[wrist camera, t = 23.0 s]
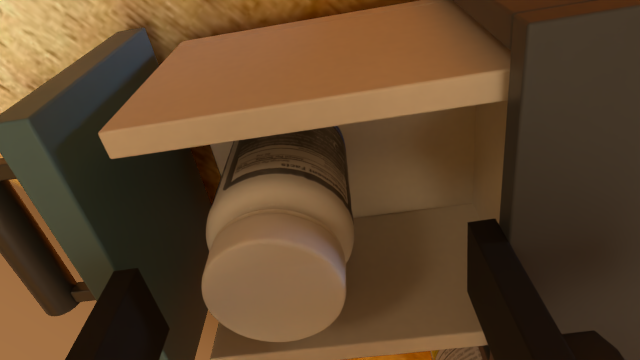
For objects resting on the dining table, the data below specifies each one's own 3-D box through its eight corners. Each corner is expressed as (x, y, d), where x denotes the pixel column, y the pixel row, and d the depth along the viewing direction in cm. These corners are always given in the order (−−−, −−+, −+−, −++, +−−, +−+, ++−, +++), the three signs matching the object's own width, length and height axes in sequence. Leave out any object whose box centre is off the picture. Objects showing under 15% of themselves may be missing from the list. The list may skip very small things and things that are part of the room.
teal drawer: (117, 257, 24) (34, 406, 17) (1, 52, 18) (-202, 155, 11) (482, 211, 22) (554, 357, 15) (492, -36, 16) (621, 23, 9)
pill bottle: (308, 208, 21) (300, 370, 14) (217, 160, 19) (158, 315, 12) (368, 132, 19) (396, 280, 12) (271, 73, 17) (235, 200, 10)
